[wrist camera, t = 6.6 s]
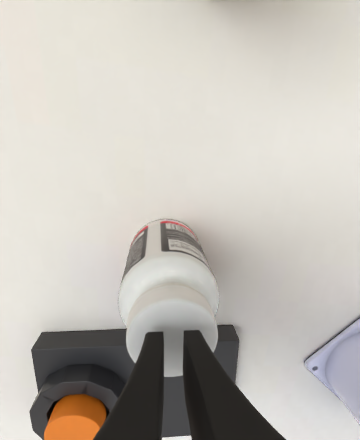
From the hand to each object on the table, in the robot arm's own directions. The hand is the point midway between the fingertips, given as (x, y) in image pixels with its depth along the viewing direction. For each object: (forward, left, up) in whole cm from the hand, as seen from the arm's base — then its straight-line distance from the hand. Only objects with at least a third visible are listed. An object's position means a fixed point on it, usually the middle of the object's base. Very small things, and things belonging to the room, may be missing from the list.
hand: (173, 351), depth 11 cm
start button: (-4, +13, -7) cm, 16 cm away
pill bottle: (0, 0, -11) cm, 11 cm away
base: (-7, +10, -10) cm, 16 cm away
